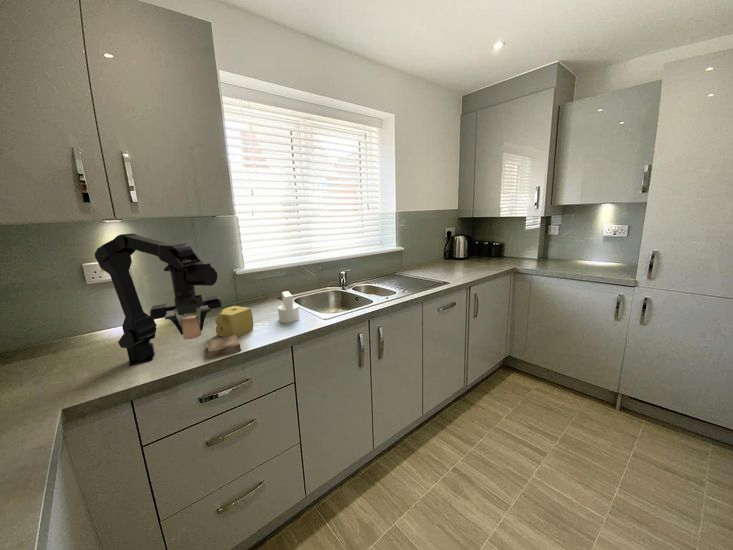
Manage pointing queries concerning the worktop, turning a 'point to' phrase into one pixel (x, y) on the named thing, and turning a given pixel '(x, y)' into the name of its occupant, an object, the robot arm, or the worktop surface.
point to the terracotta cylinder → (190, 327)
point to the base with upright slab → (288, 309)
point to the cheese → (234, 321)
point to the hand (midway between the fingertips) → (191, 332)
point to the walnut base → (223, 346)
